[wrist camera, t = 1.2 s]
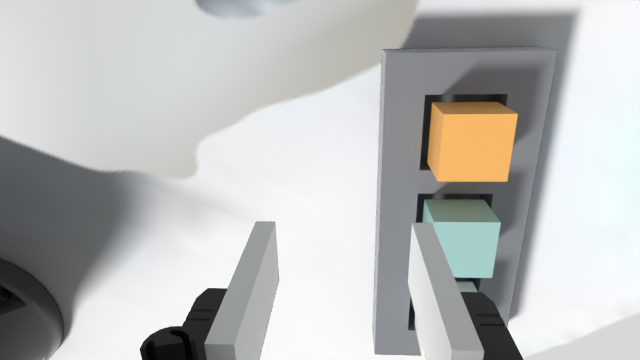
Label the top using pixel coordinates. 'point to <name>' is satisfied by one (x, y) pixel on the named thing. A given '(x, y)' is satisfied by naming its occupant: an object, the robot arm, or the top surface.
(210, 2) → the top surface
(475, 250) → the button teal
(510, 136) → the button orange
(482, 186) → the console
